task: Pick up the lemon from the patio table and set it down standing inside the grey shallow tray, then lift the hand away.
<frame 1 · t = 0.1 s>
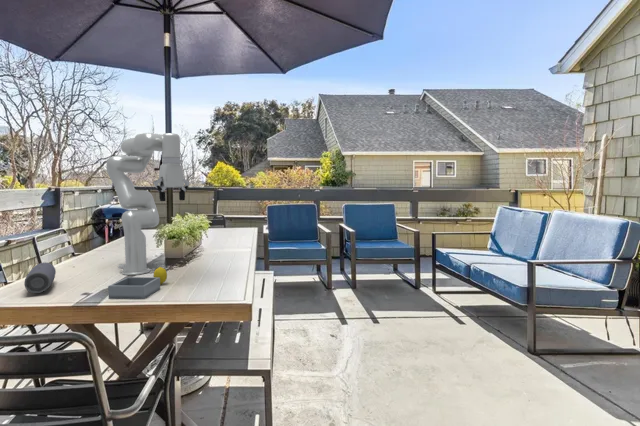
hand: (172, 200, 168), 37 cm above the table, tool pointing down, fingers open, 9 cm apart
grey shallow tray: (135, 293, 153), on the table
lemon: (160, 285, 167), on the table
bluetooth speaker: (41, 289, 159), on the table
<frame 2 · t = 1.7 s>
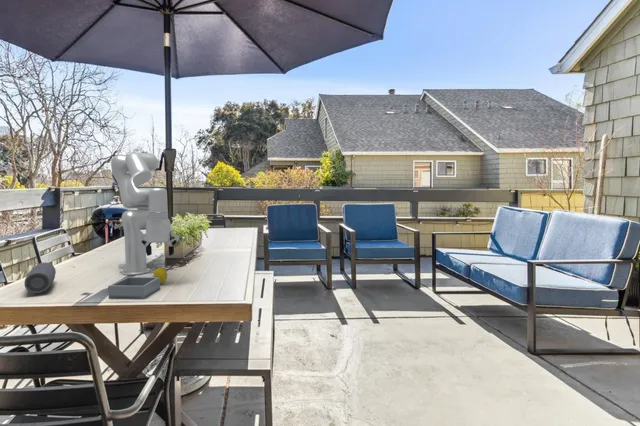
hand: (160, 255, 166), 13 cm above the table, tool pointing down, fingers open, 9 cm apart
nothing on the table moved.
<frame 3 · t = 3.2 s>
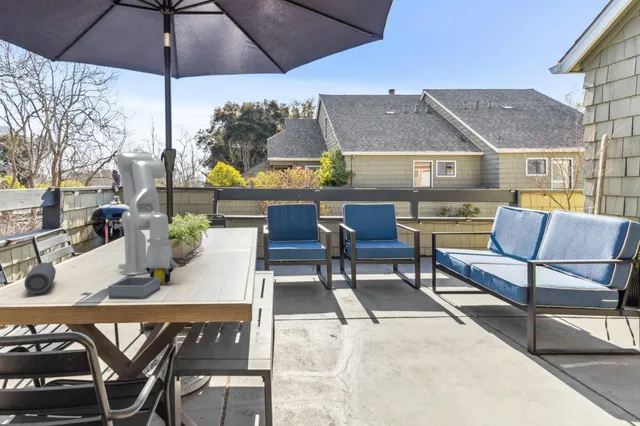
hand: (160, 282, 167), 1 cm above the table, tool pointing down, fingers closed on lemon, 5 cm apart
lemon: (160, 285, 167), on the table, touching gripper
everything else where it was.
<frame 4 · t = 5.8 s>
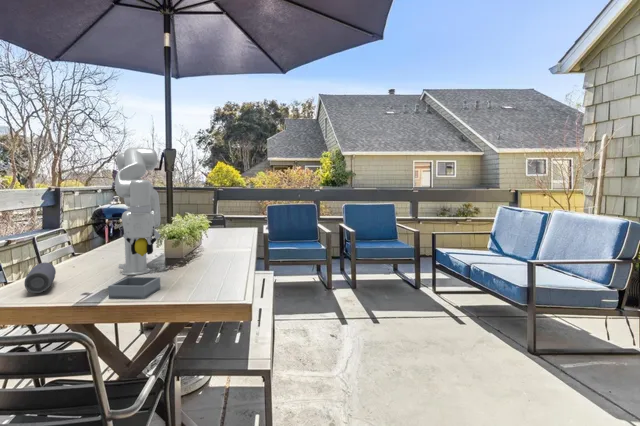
hand: (142, 253, 156), 16 cm above the table, tool pointing down, fingers closed on lemon, 5 cm apart
lemon: (142, 256, 156), point 14 cm above the table, touching gripper
everything else where it was.
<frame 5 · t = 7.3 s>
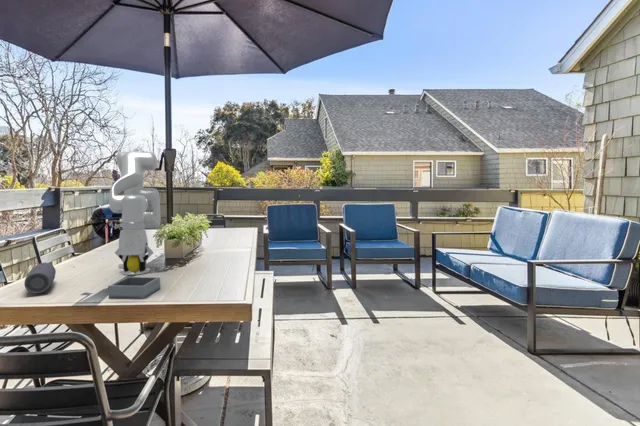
hand: (134, 270, 152), 10 cm above the table, tool pointing down, fingers closed on lemon, 5 cm apart
lemon: (134, 273, 152), point 8 cm above the table, touching gripper
everything else where it was.
when the fingers open (4 cm above the table, at t = 8.6 s): lemon drops 2 cm, resting on grey shallow tray.
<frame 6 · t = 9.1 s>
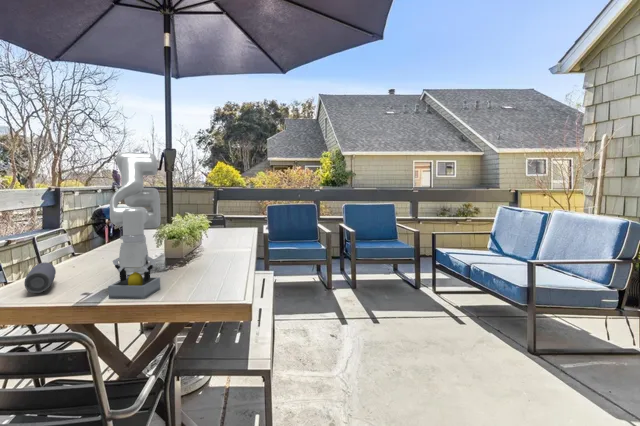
hand: (135, 280, 153), 5 cm above the table, tool pointing down, fingers open, 9 cm apart
lemon: (135, 290, 153), point 1 cm above the table, touching grey shallow tray
everything else where it was.
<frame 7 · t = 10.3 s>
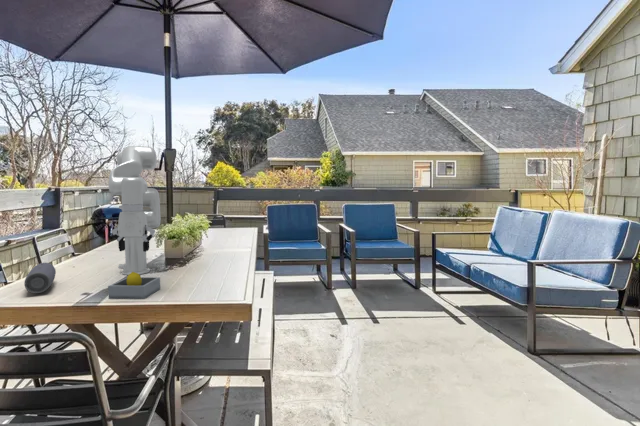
hand: (134, 250, 152), 18 cm above the table, tool pointing down, fingers open, 9 cm apart
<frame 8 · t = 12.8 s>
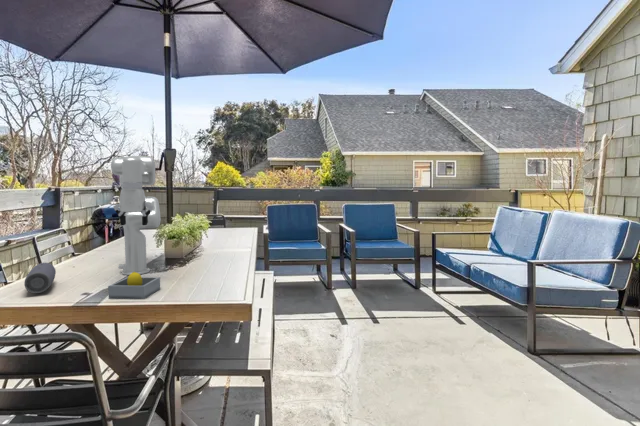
hand: (134, 225, 167), 26 cm above the table, tool pointing down, fingers open, 9 cm apart
nothing on the table moved.
at the end: lemon inside the target area on the grey shallow tray (0.2 cm from its centre), point 0.9 cm above the grey shallow tray's base; the gripper is holding nothing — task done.
